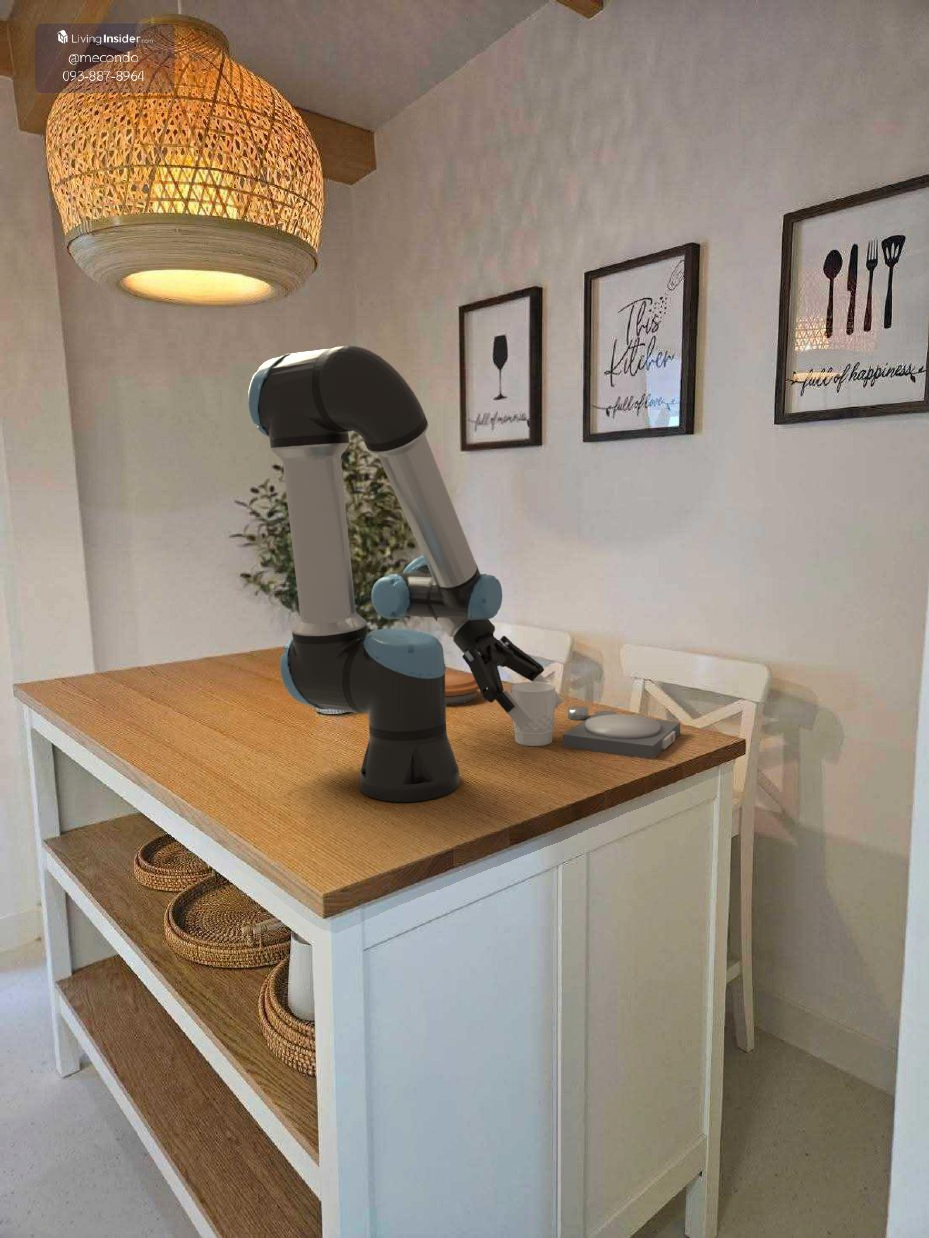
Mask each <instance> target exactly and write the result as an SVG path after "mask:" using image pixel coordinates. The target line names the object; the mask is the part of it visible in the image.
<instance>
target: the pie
mask: <svg viewBox="0 0 929 1238" xmlns="http://www.w3.org/2000/svg"><path fill="white" fill-rule="evenodd" d="M478 690H480V689H479V687H478V685H477V683H476V681H475V678H474V676H473V675H471V674H465V673H449V672H447V673H445V697H446V706H453V705H452V704H456V705H461V703H462V704H465V703H464V702H466V703H469V702H471V701H472V700H473V699H474V698H475V696H476V695H477V693H478Z"/></svg>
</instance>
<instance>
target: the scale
mask: <svg viewBox="0 0 929 1238" xmlns="http://www.w3.org/2000/svg"><path fill="white" fill-rule="evenodd" d="M680 735H681V722H680V721H671V720H665V719H664V720H662V719H655V718H651V717H647V716H642V715H636V714H626V713H625V714H624V713H623V714H622V713H621V714H618V713H616V714H615V715H610V714H601V713H596V714H595V713H594V714H593V715H591V716H588V719H586V720H582V721H581V722H580V723H578V724H577V725H575V726H574V727H572V728H571V729H569V730H568V731H566V732H564V733H562V748H570V749H577V750H584V751H585V750H586V751H590V752H591V751H592V752H598V753H606V754H608V753H609V754H614V755H621V756H628V757H634V756H637V757H636V758H642V757H645V758H644V759H649V758H651V759H650V760H654V759H655V758H656V757H657V756H658V755H659V754H660V753H661V752H662V751H663V750H666V749H667V748H668V747H669V746H670V745H672V744H673V743H674V742H675V741H676V739H677V738H678V737H679V736H680ZM658 753H659V754H658ZM655 756H656V757H655ZM654 757H655V758H654ZM653 758H654V759H653Z"/></svg>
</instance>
